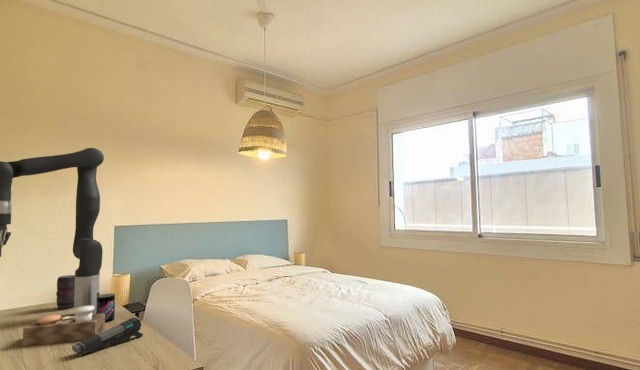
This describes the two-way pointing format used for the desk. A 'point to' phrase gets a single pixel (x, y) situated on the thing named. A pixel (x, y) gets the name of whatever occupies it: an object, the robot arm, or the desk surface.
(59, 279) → the camera lens
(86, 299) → the robot arm
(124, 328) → the gun
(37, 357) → the desk surface
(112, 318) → the supplement container
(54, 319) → the terracotta button
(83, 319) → the white button
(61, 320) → the console
